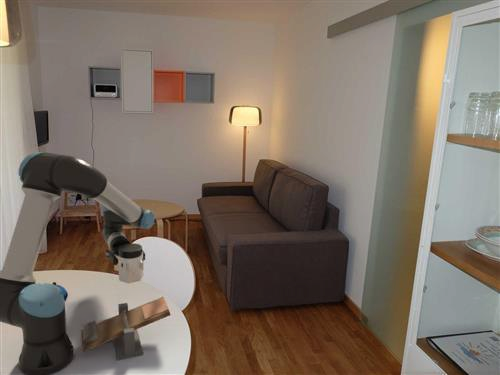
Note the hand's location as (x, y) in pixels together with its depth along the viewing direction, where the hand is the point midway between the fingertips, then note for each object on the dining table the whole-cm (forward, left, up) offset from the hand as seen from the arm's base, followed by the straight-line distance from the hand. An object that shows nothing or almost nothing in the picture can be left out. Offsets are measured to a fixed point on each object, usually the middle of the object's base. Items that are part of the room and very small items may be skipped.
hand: (135, 267), depth 143 cm
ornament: (-33, -6, -21) cm, 39 cm away
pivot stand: (+5, -12, -21) cm, 24 cm away
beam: (+5, -12, -14) cm, 19 cm away
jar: (-4, +3, -7) cm, 9 cm away
